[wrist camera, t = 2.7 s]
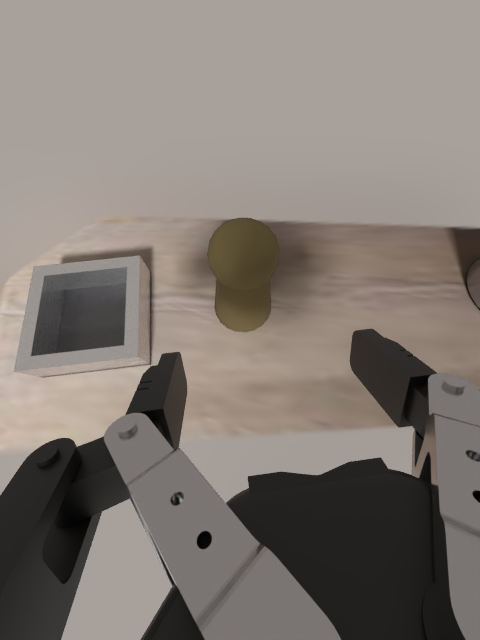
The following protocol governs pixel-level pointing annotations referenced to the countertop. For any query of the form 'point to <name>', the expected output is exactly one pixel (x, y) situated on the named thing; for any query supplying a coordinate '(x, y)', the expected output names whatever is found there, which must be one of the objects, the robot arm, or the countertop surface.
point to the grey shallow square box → (86, 318)
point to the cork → (243, 272)
